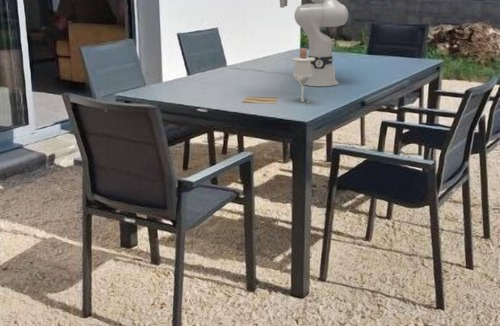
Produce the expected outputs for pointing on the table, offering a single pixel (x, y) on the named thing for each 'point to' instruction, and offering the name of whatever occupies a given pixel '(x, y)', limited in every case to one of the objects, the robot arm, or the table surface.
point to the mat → (261, 100)
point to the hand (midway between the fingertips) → (283, 6)
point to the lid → (303, 56)
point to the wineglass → (302, 74)
